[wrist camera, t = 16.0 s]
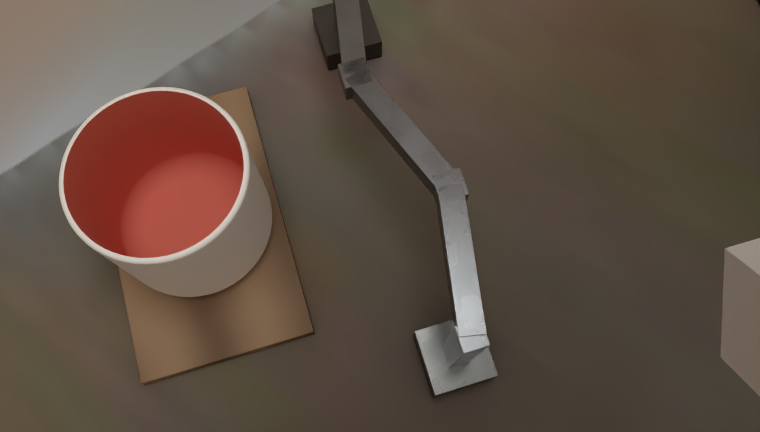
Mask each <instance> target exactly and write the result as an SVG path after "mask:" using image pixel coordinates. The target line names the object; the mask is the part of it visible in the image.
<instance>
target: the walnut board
mask: <svg viewBox="0 0 760 432" xmlns="http://www.w3.org/2000/svg"><path fill="white" fill-rule="evenodd" d="M207 98H209V99H210V100H212V101H214V102H215V103H217V104H218V105H219V106H220V107H222V108H223V109H224V110H225V111H226V112H227V113H228V114H229V115H230V116H231V117H232V118H233V120H234V121H235V122H236V124H237V125H238V127H239V128H240V130H241V132H242V134H243V136H244V139H245V141H246V143H247V145H248V148H249V150H250V152H251V155H252V157H253V159H254V162H255V164H256V166H257V169H258V171H259V173H260V176H261V178H262V180H263V182H264V185H265V187H266V189H267V192H268V195H269V198H270V202H271V207H272V227H271V233H270V237H269V240H268V243H267V245H266V248H265V250H264V252H263V254H262V256H261V257H260V259H259V260H258V262H257V263H256V264H255V266H254V267H253V268H252V269H251V270H250V271H249V272H248V273H247V274H246V275H245V276H244V277H243V278H242V279H240V280H239V281H237V282H236V283H235V284H233V285H231V286H229V287H228V288H226V289H223V290H221V291H219V292H216V293H212V294H209V295H204V296H198V297H179V296H173V295H169V294H165V293H162V292H159V291H157V290H154V289H152V288H151V287H149V286H147V285H146V284H144V283H143V282H141V281H140V280H138V279H137V278H135V277H134V276H132V275H131V274H129V273H128V272H126V271H125V270H123V269H122V268H120V267H119V266H118V268H119V273H120V278H121V283H122V288H123V293H124V298H125V303H126V309H127V314H128V319H129V324H130V329H131V334H132V339H133V344H134V349H135V354H136V359H137V364H138V369H139V374H140V379H141V384H145V385H146V384H149V383H152V382H156V381H159V380H162V379H165V378H169V377H172V376H175V375H179V374H182V373H185V372H189V371H192V370H195V369H198V368H202V367H205V366H208V365H212V364H215V363H218V362H222V361H225V360H228V359H232V358H235V357H238V356H241V355H245V354H248V353H251V352H255V351H258V350H261V349H265V348H268V347H271V346H274V345H278V344H281V343H284V342H288V341H291V340H294V339H298V338H301V337H304V336H308V335H311V334H314V329H313V325H312V322H311V318H310V315H309V311H308V307H307V304H306V300H305V297H304V293H303V289H302V286H301V282H300V278H299V275H298V271H297V268H296V264H295V260H294V257H293V253H292V250H291V246H290V242H289V239H288V235H287V231H286V228H285V224H284V221H283V217H282V213H281V210H280V206H279V202H278V199H277V195H276V192H275V188H274V184H273V181H272V177H271V174H270V170H269V166H268V163H267V159H266V155H265V152H264V148H263V145H262V141H261V137H260V134H259V130H258V127H257V123H256V119H255V116H254V112H253V108H252V105H251V101H250V98H249V94H248V91H247V88H246V87H243V88H239V89H235V90H232V91H228V92H224V93H220V94H217V95H213V96H209V97H207Z"/></svg>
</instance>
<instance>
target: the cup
mask: <svg viewBox="0 0 760 432" xmlns="http://www.w3.org/2000/svg"><path fill="white" fill-rule="evenodd" d="M59 194H60V200H61V204H62V208H63V211H64V213H65V216H66V218H67V220H68V222H69V224H70V225H71V227H72V228H73V230H74V231H75V232H76V234H77V235H78V236H79V237H80V238H81V239H82V240H83V241H84V242H85V243H86V244H87V245H88V246H90V247H91V248H93V249H94V250H95V251H97V252H98V253H100V254H101V255H103V256H104V257H106V258H107V259H109V260H110V261H112V262H113V263H115V264H116V265H118V266H119V267H120V268H122V269H123V270H125V271H126V272H128V273H129V274H131V275H132V276H134V277H135V278H137V279H138V280H140V281H141V282H143V283H144V284H146V285H147V286H149V287H151V288H152V289H154V290H157V291H159V292H162V293H165V294H169V295H173V296H179V297H198V296H204V295H209V294H212V293H216V292H219V291H221V290H223V289H226V288H228V287H229V286H231V285H233V284H235V283H236V282H237V281H239V280H240V279H242V278H243V277H244V276H245V275H246V274H247V273H248V272H249V271H250V270H251V269H252V268H253V267H254V266H255V264H256V263H257V262H258V260H259V259H260V257H261V256H262V254H263V252H264V250H265V248H266V245H267V243H268V240H269V237H270V233H271V227H272V207H271V202H270V198H269V195H268V192H267V189H266V187H265V185H264V182H263V180H262V178H261V176H260V173H259V171H258V169H257V166H256V164H255V162H254V159H253V157H252V155H251V152H250V150H249V148H248V145H247V143H246V141H245V139H244V136H243V134H242V132H241V130H240V128H239V127H238V125H237V124H236V122H235V121H234V120H233V118H232V117H231V116H230V115H229V114H228V113H227V112H226V111H225V110H224V109H223V108H222V107H220V106H219V105H218V104H217V103H215V102H214V101H212V100H210V99H209V98H207V97H205V96H203V95H200V94H198V93H195V92H192V91H189V90H185V89H180V88H173V87H155V88H146V89H141V90H137V91H134V92H130V93H127V94H125V95H122V96H120V97H117V98H116V99H113V100H111V101H110V102H108V103H107V104H105V105H103V106H102V107H100V108H99V109H98V110H97V111H95V112H94V113H93V114H92V115H91V116H90V117H88V118H87V119H86V120H85V122H84V123H83V124H82V125H81V126H80V127H79V129H78V130H77V131H76V133H75V134H74V136H73V137H72V139H71V141H70V142H69V144H68V146H67V149H66V151H65V154H64V156H63V160H62V163H61V168H60V174H59Z"/></svg>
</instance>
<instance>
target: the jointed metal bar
mask: <svg viewBox="0 0 760 432" xmlns="http://www.w3.org/2000/svg"><path fill="white" fill-rule="evenodd" d="M332 1H333V3H332V4H328V5H324V6H320V7H316V8H313V9H312V14H313V21H314V26H315V29H316V32H317V35H318V39H319V42H320V45H321V48H322V51H323V54H324V57H325V61H326V64H327V67H328V70H333V69H336V68H338V72H339V78H340V81H341V84H342V88H343V91H344V94H345V97H346V100H348V99H353V100H354V101H355V102H356V103H357V105H358V106H359V107H360V108H361V109H362V111H363V112H364V113H365V114H366V115H367V117H368V118H369V119H370V120H371V121H372V123H373V124H374V125H375V126H376V127H377V128H378V130H379V131H380V132H381V133H382V134H383V136H384V137H385V138H386V139H387V140H388V142H389V143H390V144H391V145H392V146H393V148H394V149H395V150H396V151H397V152H398V154H399V155H400V156H401V157H402V158H403V160H404V161H405V162H406V163H407V164H408V165H409V167H410V168H411V169H412V170H413V171H414V173H415V174H416V175H417V176H418V177H419V179H420V180H421V181H422V182H423V183H424V185H425V186H426V187H427V188H428V189H429V191H430V192H431V193H432V194H433V196H434V199H435V202H436V204H437V211H438V218H439V225H440V232H441V238H442V245H443V252H444V259H445V266H446V273H447V280H448V287H449V294H450V301H451V308H452V315H453V320H450V321H447V322H444V323H440V324H437V325H434V326H431V327H427V328H424V329H421V330H418V331H415V332H414V335H413V337H414V340H415V343H416V347H417V350H418V353H419V356H420V359H421V362H422V365H423V369H424V372H425V375H426V378H427V381H428V384H429V387H430V391H431V394H432V397H435V396H439V395H442V394H445V393H448V392H451V391H454V390H458V389H461V388H464V387H467V386H470V385H473V384H476V383H480V382H483V381H486V380H489V379H492V378H494V377H496V376H498V374H497V371H496V368H495V365H494V362H493V359H492V356H491V354H490V351H489V348H488V346H489V345H490V344H489V341H488V338H487V335H486V334H487V333H486V327H485V320H484V314H483V307H482V301H481V295H480V288H479V282H478V276H477V269H476V263H475V257H474V250H473V244H472V238H471V231H470V225H469V218H468V212H467V206H466V201H467V198H468V196H469V193H468V190H467V187H466V184H465V182H464V179H463V176H462V173H461V171H460V168H456V169H453V168H452V167H451V166H450V165H449V164H448V163H447V161H446V160H445V159H444V158H443V157H442V156H441V154H440V153H439V152H438V151H437V150H436V149H435V147H434V146H433V145H432V144H431V143H430V142H429V140H428V139H427V138H426V137H425V136H424V135H423V133H422V132H421V131H420V130H419V129H418V128H417V126H416V125H415V124H414V123H413V122H412V121H411V119H410V118H409V117H408V116H407V115H406V114H405V112H404V111H403V110H402V109H401V108H400V107H399V105H398V104H397V103H396V102H395V101H394V100H393V98H392V97H391V96H390V95H389V94H388V93H387V91H386V90H385V89H384V88H383V87H382V86H381V84H380V83H379V82H378V81H377V80H376V79H375V77H374V76H373V75H372V74H371V73H370V72H369V69H368V66H367V63H366V60H370V59H374V58H378V57H381V56H382V41H381V38H380V35H379V32H378V29H377V27H376V24H375V21H374V18H373V15H372V12H371V9H370V6H369V4H368V1H367V0H332Z"/></svg>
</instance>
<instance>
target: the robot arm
mask: <svg viewBox="0 0 760 432" xmlns="http://www.w3.org/2000/svg"><path fill="white" fill-rule="evenodd" d="M759 2H760V0H759ZM721 358H722V359H723V360H724V361H725V362H726V363H727V364H728V365H729V366H730V367H731V368H732V369H733V370H734V371H735V372H736V373H737V374H738V375H739V376H740V377H741V378H742V379H743V380H744V381H745V382H746V383H747V384H748V385H749V386H750V387H751V388H752V389H753V390H754V391H755V392H756V393H757V394H758V395H759V396H760V238H758V239H755V240H752V241H748V242H745V243H741V244H738V245H735V246H731V247H728V248H725V257H724V282H723V307H722V333H721Z"/></svg>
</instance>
